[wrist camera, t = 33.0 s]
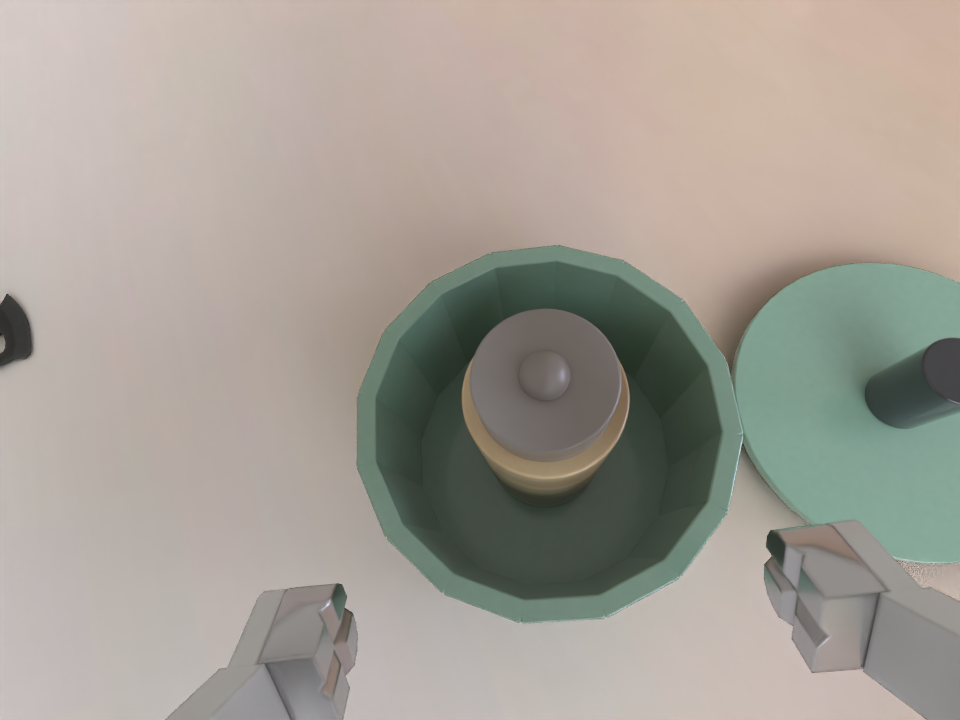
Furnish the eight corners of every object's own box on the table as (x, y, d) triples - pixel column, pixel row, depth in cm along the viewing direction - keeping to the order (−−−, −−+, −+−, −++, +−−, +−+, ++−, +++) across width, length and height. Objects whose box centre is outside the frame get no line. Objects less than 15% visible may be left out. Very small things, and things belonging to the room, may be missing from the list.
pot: (481, 653, 21) (452, 702, 14) (371, 401, 25) (305, 343, 18) (735, 516, 22) (826, 499, 15) (590, 291, 26) (609, 193, 19)
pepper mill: (520, 526, 22) (501, 502, 12) (472, 430, 24) (417, 331, 13) (617, 476, 22) (685, 407, 12) (563, 383, 24) (581, 249, 13)
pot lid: (851, 622, 20) (939, 641, 16) (669, 351, 24) (698, 305, 20) (1122, 471, 21) (1281, 449, 17) (902, 231, 25) (980, 161, 21)
